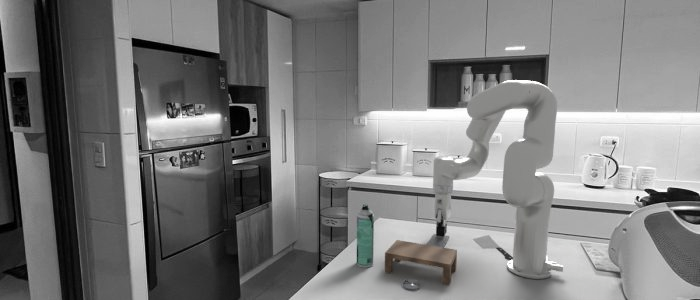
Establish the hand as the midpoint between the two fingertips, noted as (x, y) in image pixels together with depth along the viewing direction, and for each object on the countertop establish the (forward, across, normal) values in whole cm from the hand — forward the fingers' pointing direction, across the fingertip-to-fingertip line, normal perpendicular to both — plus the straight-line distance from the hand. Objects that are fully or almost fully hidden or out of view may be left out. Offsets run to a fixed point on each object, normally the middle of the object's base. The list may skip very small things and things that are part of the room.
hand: (441, 234), depth 147 cm
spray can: (+2, -34, +18) cm, 39 cm away
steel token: (+2, -42, 0) cm, 43 cm away
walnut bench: (+2, -32, 0) cm, 32 cm away
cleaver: (+2, +1, -17) cm, 17 cm away
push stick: (+2, -11, 0) cm, 11 cm away
